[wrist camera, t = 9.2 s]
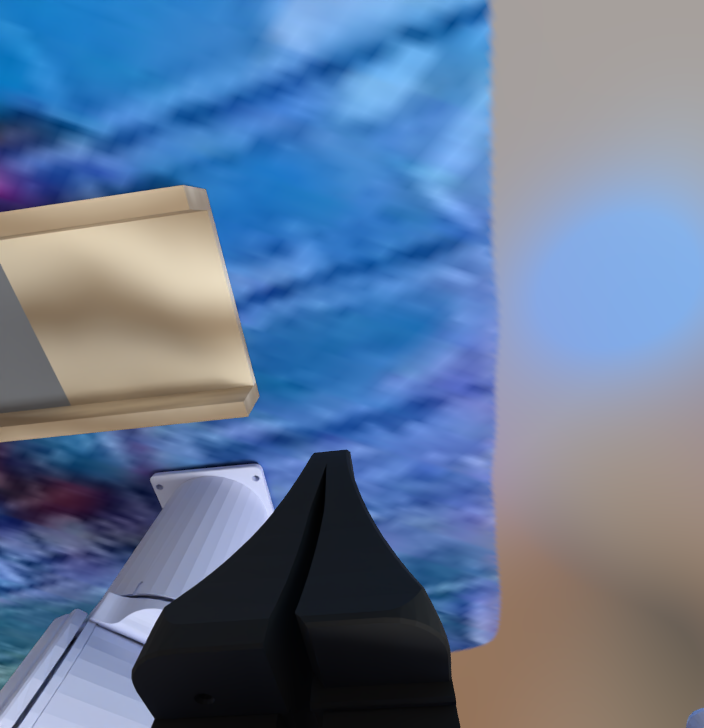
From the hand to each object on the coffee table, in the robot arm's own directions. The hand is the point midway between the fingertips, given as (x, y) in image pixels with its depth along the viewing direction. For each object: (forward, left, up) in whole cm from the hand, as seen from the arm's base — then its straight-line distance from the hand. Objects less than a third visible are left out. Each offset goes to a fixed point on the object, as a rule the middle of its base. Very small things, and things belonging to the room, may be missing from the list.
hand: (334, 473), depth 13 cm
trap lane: (+5, +22, -9) cm, 24 cm away
